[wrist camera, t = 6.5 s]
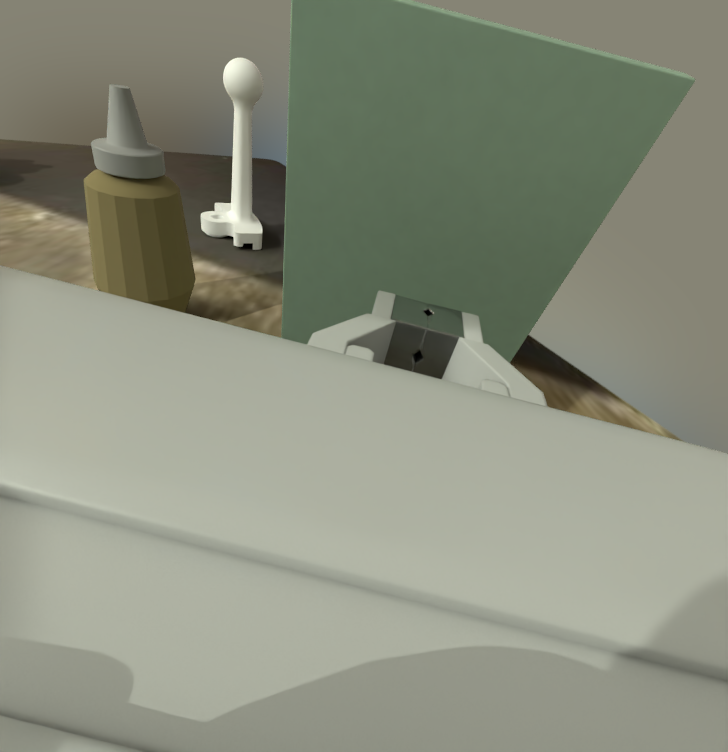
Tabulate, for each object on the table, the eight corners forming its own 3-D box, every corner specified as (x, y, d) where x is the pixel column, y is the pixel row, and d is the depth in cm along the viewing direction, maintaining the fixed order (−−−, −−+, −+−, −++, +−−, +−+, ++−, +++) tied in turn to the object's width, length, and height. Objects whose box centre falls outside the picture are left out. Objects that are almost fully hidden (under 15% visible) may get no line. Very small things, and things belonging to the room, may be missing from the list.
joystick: (269, 249, 55) (280, 69, 43) (211, 250, 51) (205, 53, 39) (245, 218, 62) (248, 56, 50) (193, 217, 58) (182, 41, 46)
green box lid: (299, -30, 12) (291, -29, 11) (686, 73, 12) (697, 79, 11) (285, 346, 23) (280, 355, 22) (480, 396, 23) (480, 407, 23)
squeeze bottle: (80, 316, 36) (12, 67, 25) (149, 284, 42) (120, 74, 31) (154, 348, 35) (118, 101, 23) (215, 311, 41) (208, 101, 30)
